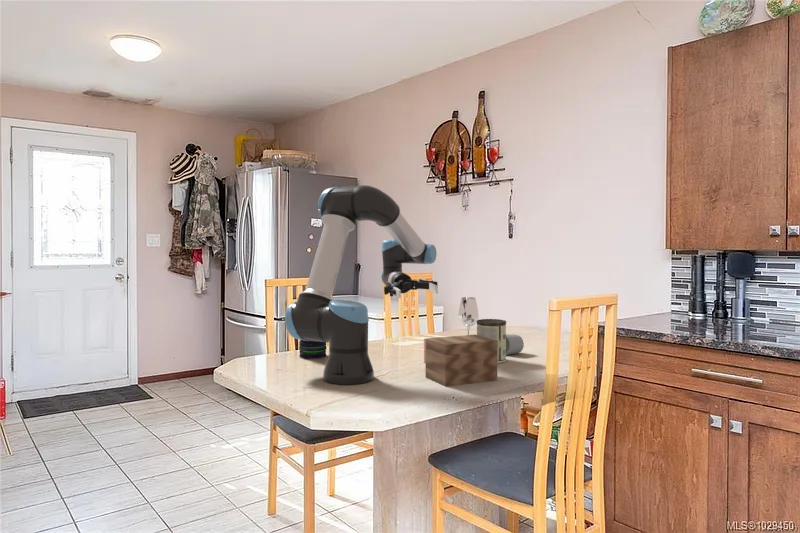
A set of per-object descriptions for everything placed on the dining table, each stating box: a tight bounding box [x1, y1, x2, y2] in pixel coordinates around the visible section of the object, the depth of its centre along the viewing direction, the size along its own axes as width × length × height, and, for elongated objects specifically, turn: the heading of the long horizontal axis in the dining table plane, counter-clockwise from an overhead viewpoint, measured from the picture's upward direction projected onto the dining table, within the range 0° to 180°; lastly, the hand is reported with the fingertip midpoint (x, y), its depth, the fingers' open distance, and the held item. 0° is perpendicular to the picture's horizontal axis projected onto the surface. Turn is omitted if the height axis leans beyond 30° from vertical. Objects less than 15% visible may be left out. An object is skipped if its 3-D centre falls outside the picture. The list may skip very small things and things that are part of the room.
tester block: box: [425, 334, 498, 387], centre depth 168 cm, size 18×12×12 cm, turn 115°
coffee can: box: [476, 318, 507, 364], centre depth 195 cm, size 10×10×14 cm
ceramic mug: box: [506, 333, 525, 356], centre depth 209 cm, size 11×8×8 cm
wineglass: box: [457, 296, 479, 335], centre depth 218 cm, size 8×8×20 cm
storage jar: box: [298, 339, 327, 360], centre depth 201 cm, size 10×10×15 cm
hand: (418, 291), depth 192 cm, fingers open, 13 cm apart
